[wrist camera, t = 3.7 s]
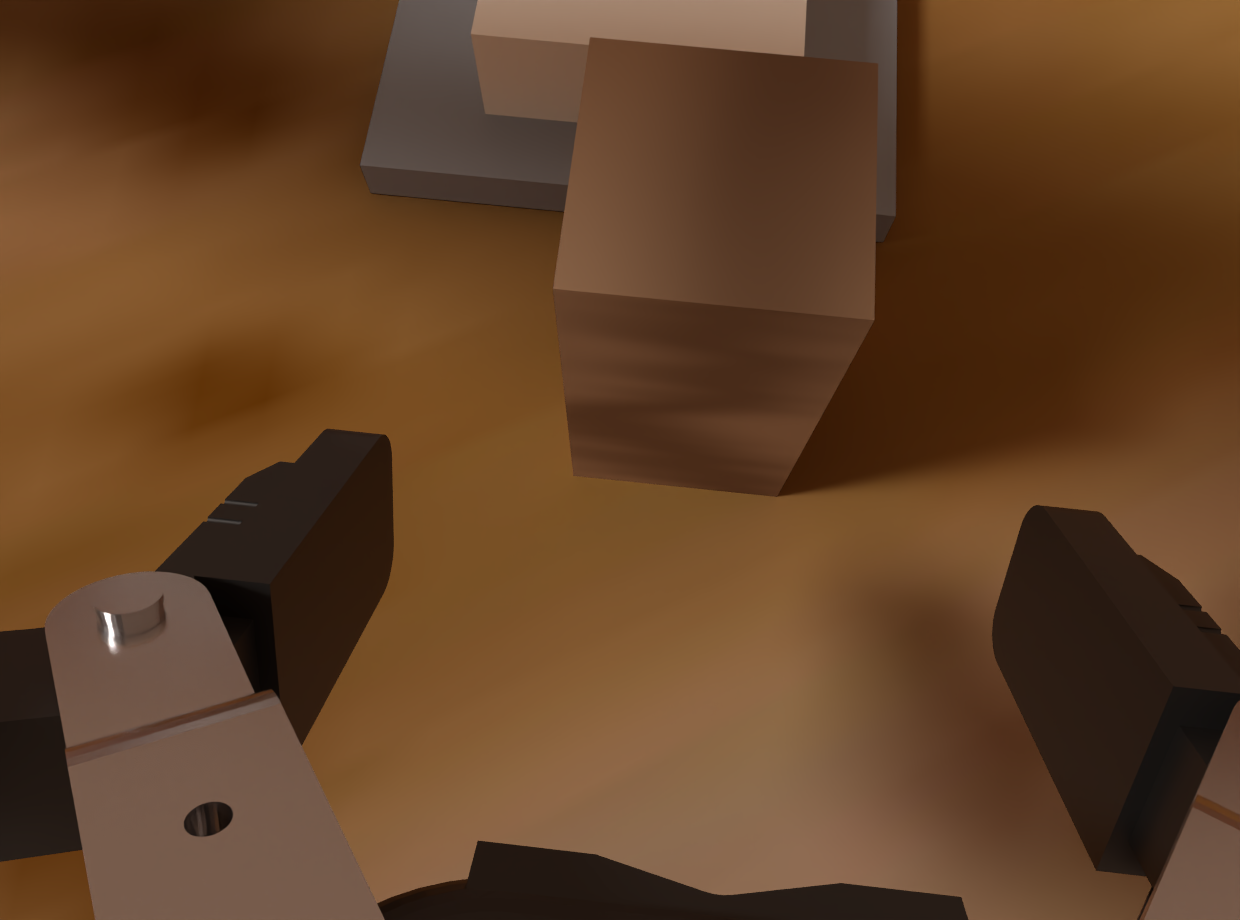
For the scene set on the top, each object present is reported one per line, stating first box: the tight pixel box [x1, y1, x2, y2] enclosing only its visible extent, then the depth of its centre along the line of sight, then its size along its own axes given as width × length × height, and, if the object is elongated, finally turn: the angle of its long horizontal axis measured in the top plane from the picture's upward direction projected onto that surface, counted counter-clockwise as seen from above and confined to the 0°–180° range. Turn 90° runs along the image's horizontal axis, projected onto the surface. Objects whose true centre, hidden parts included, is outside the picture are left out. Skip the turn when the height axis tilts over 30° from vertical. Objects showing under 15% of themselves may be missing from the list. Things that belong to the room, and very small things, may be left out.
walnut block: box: [553, 37, 878, 497], centre depth 20 cm, size 5×5×9 cm
